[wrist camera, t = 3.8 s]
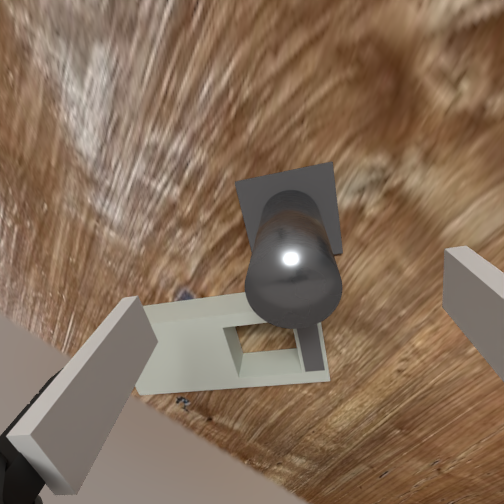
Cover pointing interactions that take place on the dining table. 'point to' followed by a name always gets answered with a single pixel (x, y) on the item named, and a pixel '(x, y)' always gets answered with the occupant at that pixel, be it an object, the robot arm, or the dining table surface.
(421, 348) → the dining table surface
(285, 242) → the barrel peg
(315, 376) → the slotted holder block
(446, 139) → the dining table surface
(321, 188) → the mat
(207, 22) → the dining table surface
